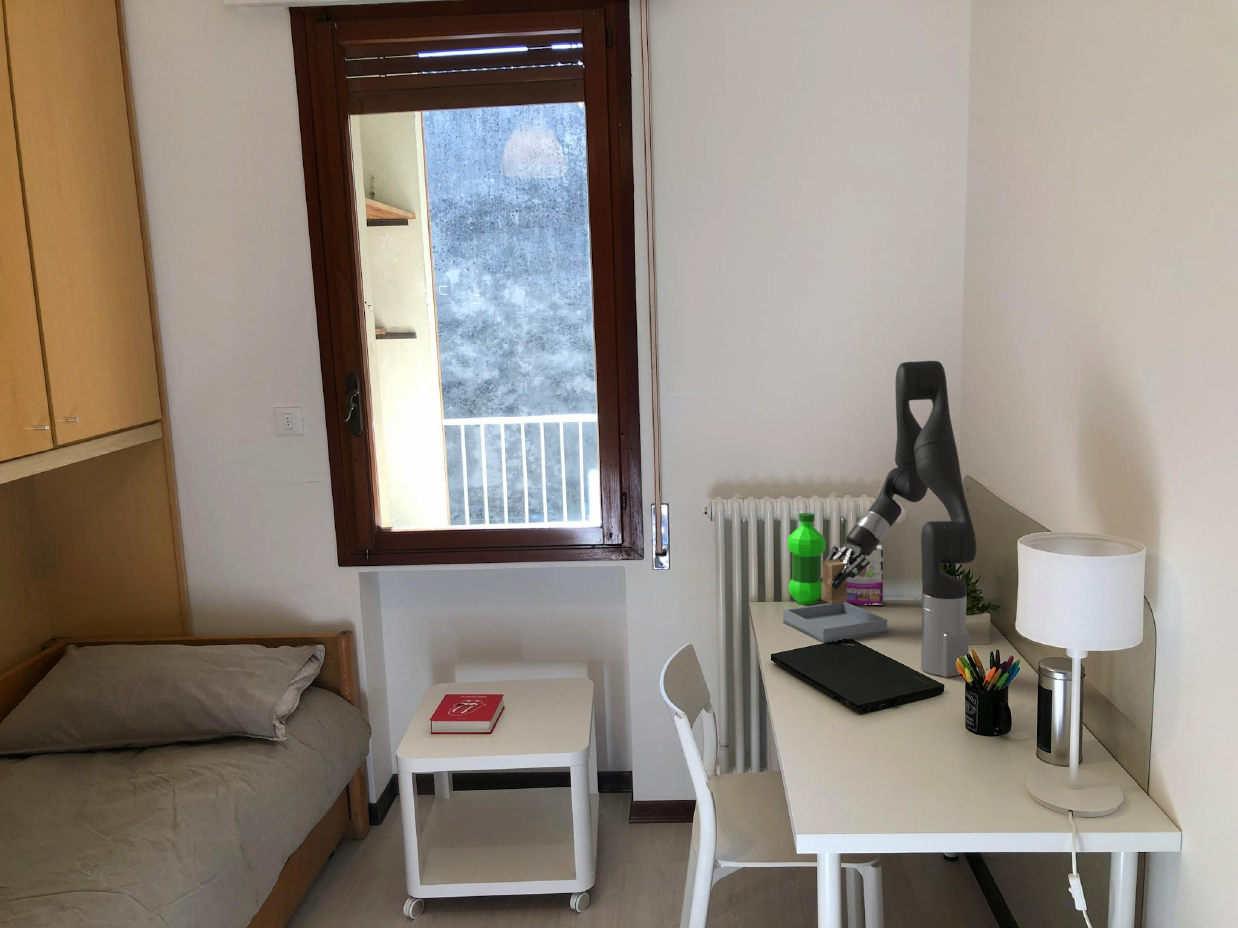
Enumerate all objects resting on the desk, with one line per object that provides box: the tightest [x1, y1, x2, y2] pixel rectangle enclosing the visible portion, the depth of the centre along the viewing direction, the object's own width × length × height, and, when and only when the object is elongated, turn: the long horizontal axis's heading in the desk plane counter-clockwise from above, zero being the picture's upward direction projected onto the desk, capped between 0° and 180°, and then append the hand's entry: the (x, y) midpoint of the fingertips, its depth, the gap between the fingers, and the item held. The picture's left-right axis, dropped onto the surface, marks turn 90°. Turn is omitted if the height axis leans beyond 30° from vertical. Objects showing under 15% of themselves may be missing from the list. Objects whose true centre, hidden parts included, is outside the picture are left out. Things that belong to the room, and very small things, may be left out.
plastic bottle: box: [787, 512, 827, 605], centre depth 263 cm, size 10×10×25 cm
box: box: [782, 602, 888, 644], centre depth 239 cm, size 19×19×4 cm
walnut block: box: [821, 559, 847, 604], centre depth 238 cm, size 4×4×10 cm
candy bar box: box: [842, 543, 884, 606], centre depth 261 cm, size 11×5×16 cm, turn 73°
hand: (827, 583), depth 238 cm, fingers closed on walnut block, 4 cm apart
